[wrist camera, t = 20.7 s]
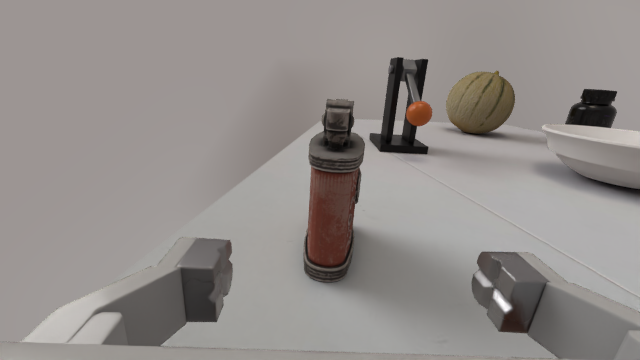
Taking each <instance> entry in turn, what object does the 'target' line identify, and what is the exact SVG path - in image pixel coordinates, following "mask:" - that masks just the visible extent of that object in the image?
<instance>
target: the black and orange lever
mask: <svg viewBox="0 0 640 360" xmlns="http://www.w3.org/2000/svg"><path fill="white" fill-rule="evenodd" d="M414 61H415V64H416V67H417V71H416V74H415V77H414V80H415V84H416V87H417V90H418V94H419V97H420V101H421V99H422V93H423V86H424V81H425V75H426V69H427V63H428V59H420V60H414ZM402 65H403V58H399V57H397V58H393V59H391V62H390V66H389V77H388V86H387V93H386V100H385V108H384V116H383V123H382V131H381V134H374V133H370V140H371V141H372V143H373V144H374V145H375V146H376V147H377V148H378V149H379V151H383V152H401V153H419V154H427V152H428V147H427V146H426V145H424V144H423V143H421V142H419V141H418V140H416V139H415V135H416V129H417V126H414V125H412V124H411V123H409V121H408V120H407V117H406V114H405V120H404V126H403V133H402V135H393V128H394V121H395V114H396V106H397V99H398V93H399V86H400V79H401V72H402ZM410 105H411V100H410V97H409V94H408V101H407V107H406V112H407V109H408V107H409V106H410Z"/></svg>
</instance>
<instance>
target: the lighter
mask: <svg viewBox="0 0 640 360" xmlns="http://www.w3.org/2000/svg"><path fill="white" fill-rule="evenodd" d="M353 105H354V101H348V100H345V99H336V100H331V99H327V103H326V110H325V113H324V114H323V116H322V124H323V126H324V131H323V132H321V133H319V134H317V135H315V136H314V137H313V138H312V139H311V141H310V144H309V163H310V165H311V183H310V201H309V219H308V229H307V231H306V235H305V241H304V255H303V256H304V270H305V273H306V274H307V275H308V276H309V277H311V278H313V279H315V280H318V281H322V282H334V281H339V280H341V279H343V278H344V277H345V275H346V274H347V271H348V268H349V265H350V263H351V258H352V251H353V244H354V232H353V218H354V209H355V204H357V203H358V197H359V190H360V181H361V171H360V168H359V166H360V165H361V164H362V162H363V156H364V148H365V143H364V141H363V139H362V138H361V137H360V136H359V135H358V134H356V133H352V132H351V128H352V126H353V125H354V117H353V116H352V115H353Z"/></svg>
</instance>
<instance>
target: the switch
mask: <svg viewBox="0 0 640 360" xmlns="http://www.w3.org/2000/svg"><path fill="white" fill-rule="evenodd" d="M416 71H417V67H416V64H415V61H414V60H407V59H406V60H405V59H403V65H402V72H401V79H400V81H406V85H407V89H408V93H409V97H410V100H411V105H410V106H409V107H408V109H407V112H406V117H407V120H408V121H409V123H411V124H412V125H414V126H423V125H425V124H426V123H428V122H429V120H430V119H431V117H432V109H431V107H430V105H429V104H428V103H426V102H424V101H420V97H419V94H418V90H417V87H416V84H415V80H414V77H415V74H416Z"/></svg>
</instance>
